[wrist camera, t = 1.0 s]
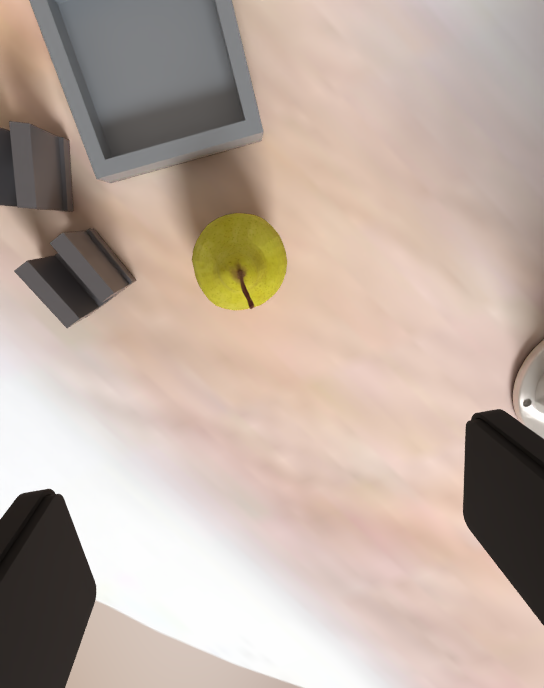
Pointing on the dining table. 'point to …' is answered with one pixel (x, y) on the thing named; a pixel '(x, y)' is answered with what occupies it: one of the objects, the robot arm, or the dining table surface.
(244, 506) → the dining table surface
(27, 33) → the dining table surface
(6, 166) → the clip
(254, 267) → the fruit
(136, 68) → the grey square tray
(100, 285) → the clip
